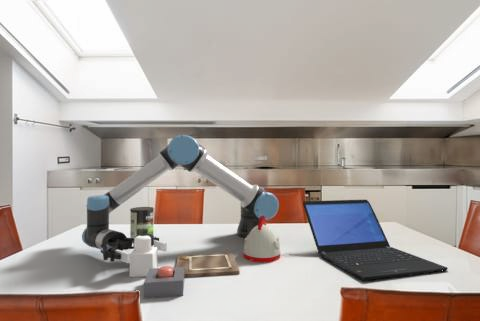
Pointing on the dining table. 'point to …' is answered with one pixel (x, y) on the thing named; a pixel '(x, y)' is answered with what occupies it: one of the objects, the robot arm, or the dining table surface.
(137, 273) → the medicine bottle
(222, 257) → the picture board
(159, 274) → the button
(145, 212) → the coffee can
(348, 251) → the laptop
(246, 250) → the kitchen timer
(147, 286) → the block
